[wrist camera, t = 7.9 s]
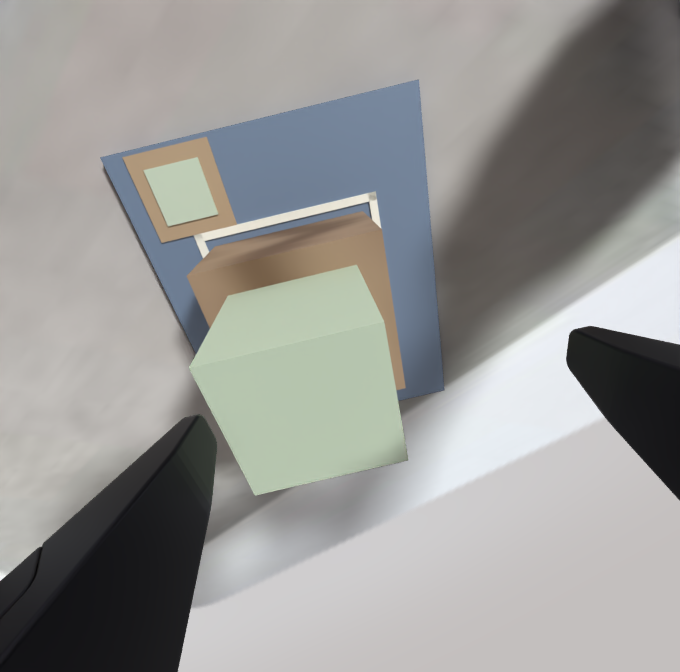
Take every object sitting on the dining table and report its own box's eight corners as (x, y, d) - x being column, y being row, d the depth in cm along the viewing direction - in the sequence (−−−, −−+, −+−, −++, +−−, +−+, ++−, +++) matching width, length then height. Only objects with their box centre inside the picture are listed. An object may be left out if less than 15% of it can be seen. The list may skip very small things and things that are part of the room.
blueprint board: (415, 81, 16) (420, 78, 15) (441, 386, 25) (445, 391, 24) (105, 157, 16) (97, 157, 16) (238, 432, 25) (236, 439, 24)
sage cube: (357, 264, 14) (384, 321, 9) (378, 372, 17) (408, 460, 12) (227, 295, 14) (188, 368, 9) (269, 397, 17) (254, 495, 12)
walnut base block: (362, 210, 18) (381, 229, 14) (385, 340, 22) (405, 388, 17) (215, 246, 18) (186, 275, 14) (262, 369, 22) (252, 423, 18)
